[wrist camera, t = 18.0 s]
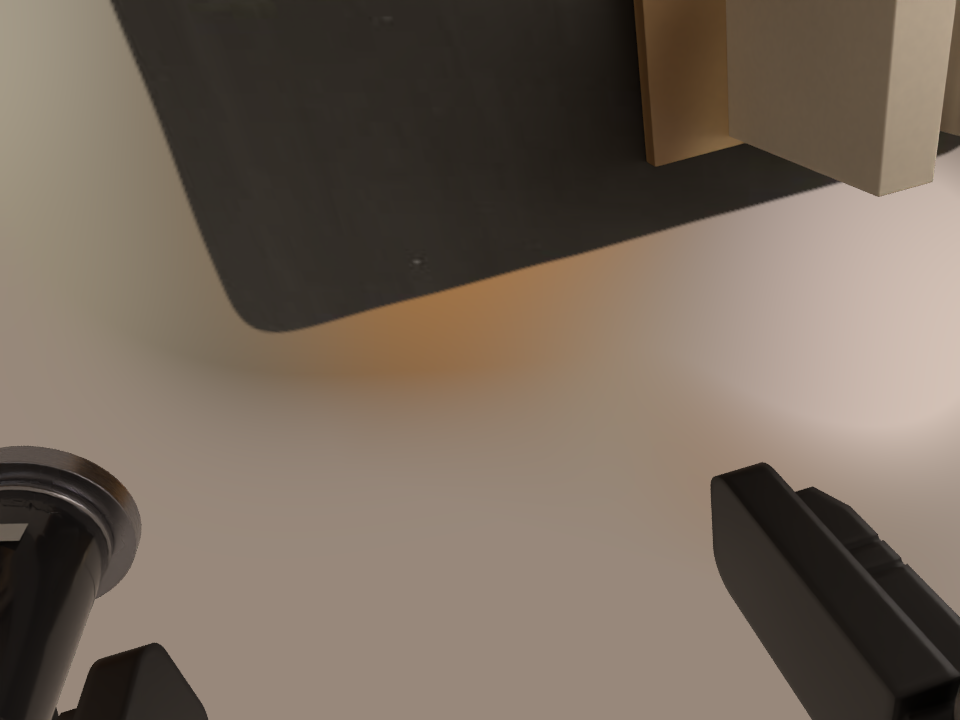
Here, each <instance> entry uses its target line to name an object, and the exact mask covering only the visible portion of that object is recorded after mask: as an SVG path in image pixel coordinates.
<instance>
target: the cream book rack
mask: <svg viewBox="0 0 960 720" xmlns="http://www.w3.org/2000/svg"><path fill="white" fill-rule="evenodd" d="M634 12H635V24H636V36H637V49H638V61H639V73H640V85H641V98H642V110H643V122H644V134H645V147H646V159H647V162H648V163H650V164H651V165H653V166H655V167H657V166H660V165H664V164H668V163H672V162H675V161H679V160H683V159H687V158H690V157H694V156H698V155H702V154H705V153H709V152H713V151H717V150H720V149H724V148H728V147H732V146H735V145H739V144H743V143H745V142H742V141H740V140H737V139H735V138H732V137H730V136H729V117H728V74H727V31H726V0H634ZM939 131H943V132H947V133H950V134H954V135H958V136H960V0H956V5H955V13H954V21H953V28H952V36H951V44H950V52H949V60H948V68H947V75H946V83H945V91H944V99H943V107H942V115H941V122H940V130H939Z"/></svg>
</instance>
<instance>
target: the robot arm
mask: <svg viewBox="0 0 960 720" xmlns="http://www.w3.org/2000/svg"><path fill="white" fill-rule="evenodd" d="M711 508H712V530H713V549H714V557H715V561H716V564H717V568H718V570H719V573H720V576H721V578H722V580H723V582H724V585H725V587H726V588H727V590H728V592H729V594H730V595H731V597H732V598H733V600H734V601H735V603H736V604H737V606H738V607H739V609H740V610H741V612H742V613H743V615H744V616H745V618H746V619H747V621H748V622H749V624H750V626H751V627H752V629H753V630H754V632H755V633H756V635H757V636H758V638H759V639H760V641H761V642H762V644H763V645H764V647H765V648H766V650H767V651H768V653H769V655H770V656H771V658H772V659H773V661H774V662H775V664H776V665H777V667H778V668H779V670H780V671H781V673H782V674H783V676H784V677H785V679H786V680H787V682H788V683H789V685H790V687H791V688H792V690H793V691H794V693H795V694H796V696H797V697H798V699H799V700H800V702H801V703H802V705H803V706H804V708H805V709H806V711H807V713H808V714H809V716H810V717H811V719H812V720H960V617H959V616H958V615H957V614H956V613H955V612H954V611H953V610H952V609H951V608H950V607H949V606H948V605H947V604H946V603H945V602H944V601H943V600H942V599H941V598H940V597H939V596H938V595H937V594H936V593H935V592H934V591H933V590H932V589H931V588H930V587H929V586H928V585H927V584H926V583H925V582H924V581H923V579H921V578H920V576H919V575H917V574H916V572H915V571H914V570H913V569H912V568H911V567H910V566H909V565H908V564H906V565H904V564H903V562H902V560H901V557H900V556H899V555H898V554H897V553H896V552H895V551H894V550H893V549H892V548H891V547H890V546H889V545H888V544H887V543H886V542H885V541H883V540H882V541H881V540H880V539H879V537H878V534H877V533H876V532H875V531H874V530H873V529H872V528H871V527H870V526H869V525H868V524H867V523H866V522H865V521H864V520H863V519H862V518H861V517H860V516H859V515H858V514H857V513H856V512H855V511H854V510H853V509H852V508H851V507H850V506H849V505H847V504H845V503H843V502H841V501H839V500H837V499H835V498H833V497H832V496H829V495H828V494H826V493H824V492H822V491H820V490H818V489H817V488H814V487H810V488H807V489H803V490H800V491H797V492H794V491H793V489H792V488H791V487H790V486H789V485H788V484H787V483H786V482H785V481H784V480H783V479H782V477H781V476H780V475H779V474H778V473H777V472H776V471H775V470H774V469H773V468H772V467H771V466H770V465H768V464H766V463H763V462H762V463H758V464H755V465H752V466H749V467H745V468H741V469H738V470H735V471H732V472H728V473H725V474H721V475H718V476H715V477H713V478H712V480H711ZM113 548H114V543H113V536H112V532H111V530H110V527H109V525H108V523H107V521H106V520H105V519H104V517H103V516H102V515H101V513H100V512H99V511H98V510H97V509H96V508H95V507H94V506H92V505H91V504H90V503H89V502H87V501H86V500H84V499H83V498H81V497H80V496H78V495H76V494H74V493H72V492H70V491H68V490H65V489H63V488H60V487H57V486H53V485H50V484H46V483H41V482H34V481H22V480H13V481H1V482H0V720H208V717H207V714H206V711H205V709H204V707H203V705H202V703H201V702H200V700H199V699H198V697H197V696H196V694H195V693H194V691H193V690H192V688H191V687H190V685H189V684H188V683H187V681H186V680H185V678H184V677H183V675H182V674H181V672H180V671H179V669H178V668H177V666H176V665H175V663H174V662H173V660H172V659H171V658H170V656H169V655H168V653H167V652H166V650H165V649H164V648H163V647H162V646H161V645H159V644H158V643H151V644H148V645H145V646H141V647H138V648H135V649H131V650H128V651H125V652H121V653H118V654H115V655H111V656H108V657H105V658H102V659H99V660H97V661H96V662H95V663H94V664H93V665H92V667H91V668H90V671H89V673H88V675H87V679H86V682H85V685H84V688H83V691H82V694H81V697H80V700H79V703H78V706H77V708H76V709H72V710H69V711H66V712H63V713H61V714H60V716H58V712H57V709H56V705H57V702H58V699H59V697H60V694H61V691H62V688H63V686H64V683H65V680H66V677H67V675H68V672H69V669H70V666H71V663H72V661H73V658H74V655H75V652H76V649H77V647H78V644H79V641H80V638H81V636H82V633H83V630H84V627H85V624H86V621H87V619H88V616H89V613H90V610H91V608H92V606H93V603H94V600H95V597H96V595H97V592H98V589H99V586H100V583H101V581H102V578H103V576H104V575H105V573H106V571H107V569H108V566H109V564H110V561H111V558H112V555H113Z"/></svg>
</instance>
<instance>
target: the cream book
mask: <svg viewBox="0 0 960 720" xmlns="http://www.w3.org/2000/svg"><path fill="white" fill-rule="evenodd" d="M955 5H956V0H726V31H727V74H728V117H729V136H730V137H732V138H735V139H737V140H740V141H742V142H745V143H747V144H749V145H752V146H754V147H757V148H759V149H762V150H764V151H767V152H769V153H772V154H774V155H777V156H779V157H781V158H784V159H786V160H789V161H791V162H794V163H796V164H799V165H801V166H804V167H806V168H809V169H811V170H813V171H816V172H818V173H821V174H823V175H826V176H828V177H831V178H833V179H836V180H838V181H841V182H843V183H846V184H848V185H851V186H853V187H856V188H858V189H860V190H863V191H865V192H868V193H870V194H873V195H875V196H878V197H880V196H884V195H887V194H891V193H894V192H898V191H902V190H905V189H909V188H912V187H916V186H919V185H923V184H927V183H930V182H932V181H933V177H934V169H935V161H936V154H937V146H938V138H939V130H940V122H941V115H942V107H943V99H944V91H945V83H946V75H947V68H948V60H949V52H950V44H951V36H952V28H953V21H954V13H955Z"/></svg>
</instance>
